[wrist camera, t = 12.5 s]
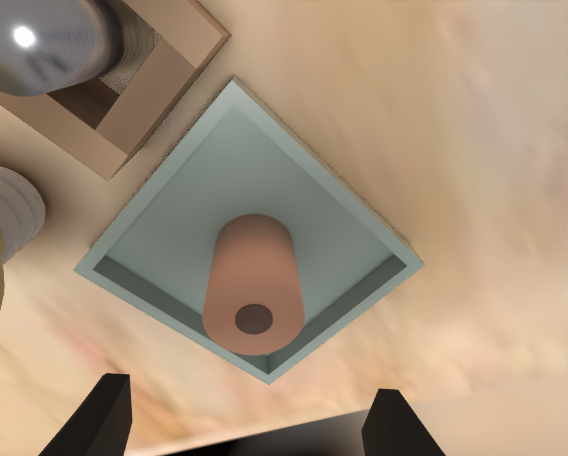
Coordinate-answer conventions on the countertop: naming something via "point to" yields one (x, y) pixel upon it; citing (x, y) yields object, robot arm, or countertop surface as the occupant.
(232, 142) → the tray
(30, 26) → the cylinder
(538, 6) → the countertop surface
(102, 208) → the countertop surface
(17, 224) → the light bulb
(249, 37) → the countertop surface
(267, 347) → the terracotta round
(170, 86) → the walnut block
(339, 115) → the countertop surface
